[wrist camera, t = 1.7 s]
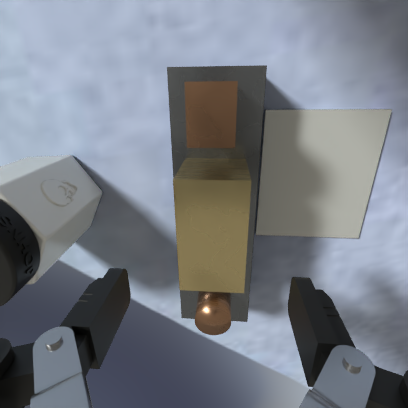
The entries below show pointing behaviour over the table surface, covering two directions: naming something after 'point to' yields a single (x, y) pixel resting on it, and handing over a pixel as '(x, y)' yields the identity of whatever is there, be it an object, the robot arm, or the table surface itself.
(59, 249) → the jar
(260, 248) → the table surface
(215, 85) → the body
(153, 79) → the table surface
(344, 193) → the felt mat
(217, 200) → the lever cap
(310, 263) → the table surface
